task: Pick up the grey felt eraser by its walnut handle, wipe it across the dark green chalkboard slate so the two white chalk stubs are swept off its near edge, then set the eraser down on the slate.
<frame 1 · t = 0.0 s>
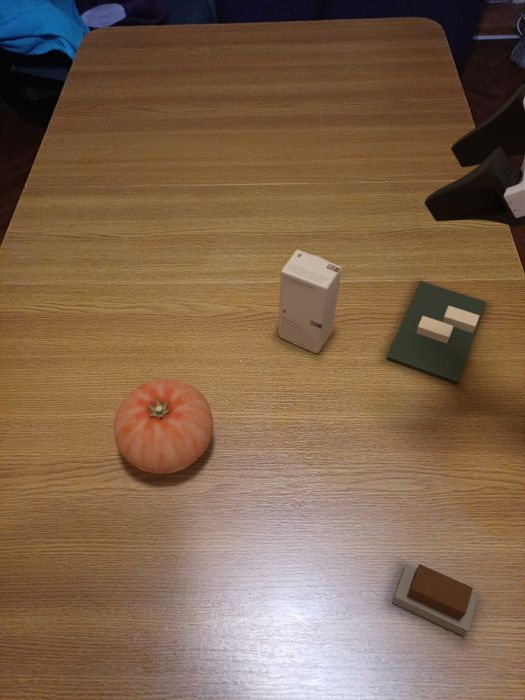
hand: (444, 181, 51), 29 cm above the table, tool tilted 50°, fingers open, 7 cm apart
eraser: (432, 601, 59), on the table
slate: (437, 331, 79), on the table
chalk a: (459, 322, 79), point 1 cm above the table, touching slate
cosmetic box: (306, 335, 79), on the table
chalk b: (433, 333, 78), point 1 cm above the table, touching slate
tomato: (169, 443, 70), on the table
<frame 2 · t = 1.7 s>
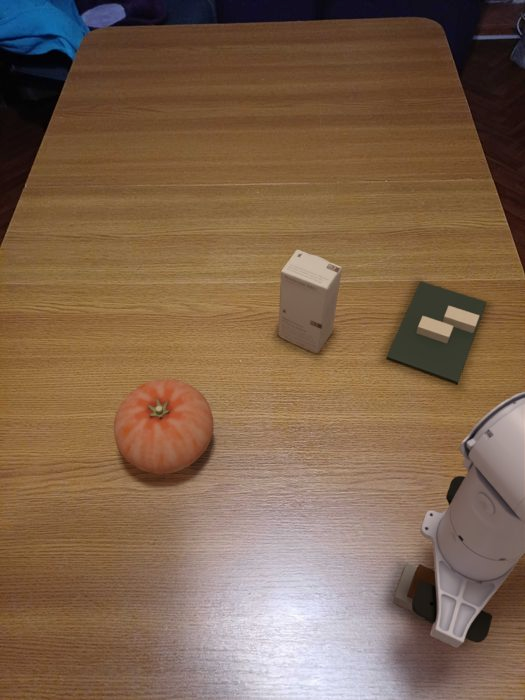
hand: (449, 578, 53), 7 cm above the table, tool pointing down, fingers open, 7 cm apart
nothing on the table moved.
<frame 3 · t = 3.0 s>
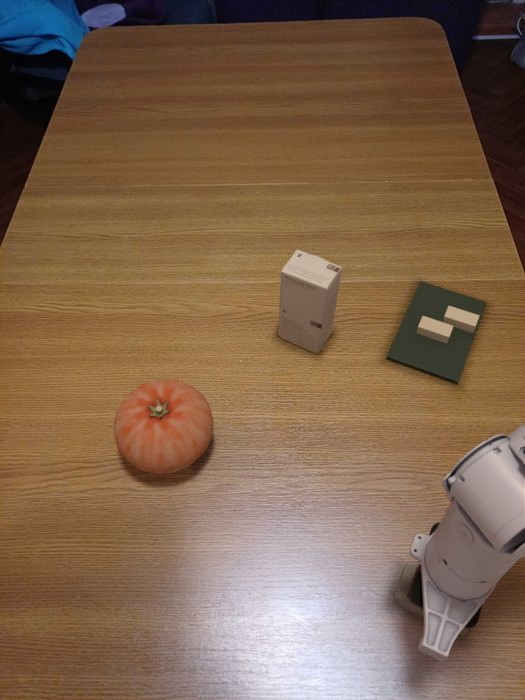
hand: (437, 594, 57), 2 cm above the table, tool pointing down, fingers closed on eraser, 2 cm apart
eraser: (432, 601, 59), on the table, touching gripper
everything else where it was.
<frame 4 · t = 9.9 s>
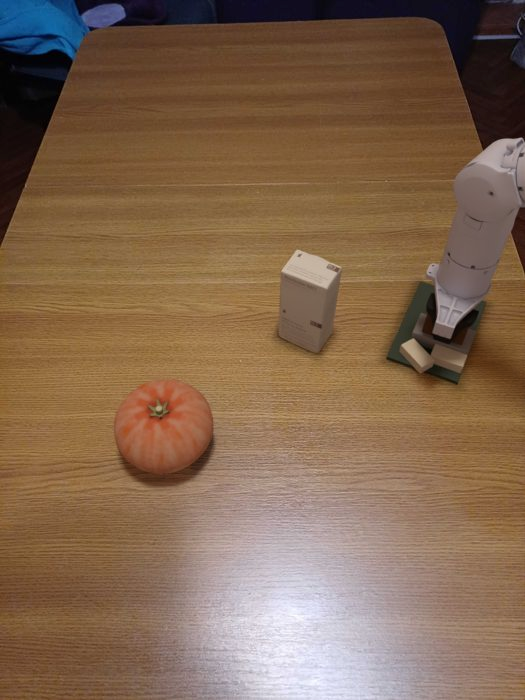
hand: (445, 330, 75), 3 cm above the table, tool pointing down, fingers closed on eraser, 2 cm apart
eraser: (440, 341, 77), point 1 cm above the table, touching gripper
chalk a: (446, 361, 75), point 1 cm above the table, touching chalk b, slate
chalk b: (415, 359, 76), point 1 cm above the table, touching chalk a, slate
everything else where it was.
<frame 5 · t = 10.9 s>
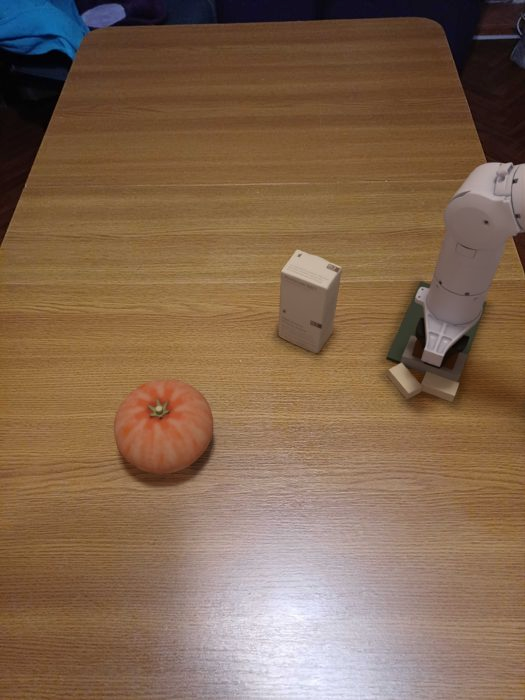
hand: (436, 354, 73), 3 cm above the table, tool pointing down, fingers closed on eraser, 2 cm apart
eraser: (431, 364, 75), point 1 cm above the table, touching gripper
chalk a: (438, 389, 74), on the table
chalk b: (403, 384, 74), on the table
everything else where it was.
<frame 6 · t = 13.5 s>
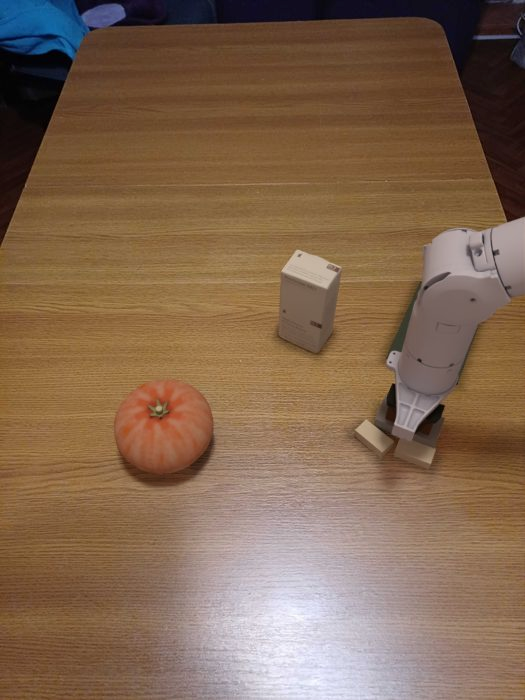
hand: (411, 417, 68), 3 cm above the table, tool pointing down, fingers closed on eraser, 2 cm apart
eraser: (407, 427, 70), point 1 cm above the table, touching chalk a, gripper
chalk a: (413, 455, 69), on the table, touching eraser
chalk b: (372, 441, 70), on the table
everything else where it was.
when the fingers open (3 cm above the table, at t = 16.6 s): eraser stays where it is, resting on slate.
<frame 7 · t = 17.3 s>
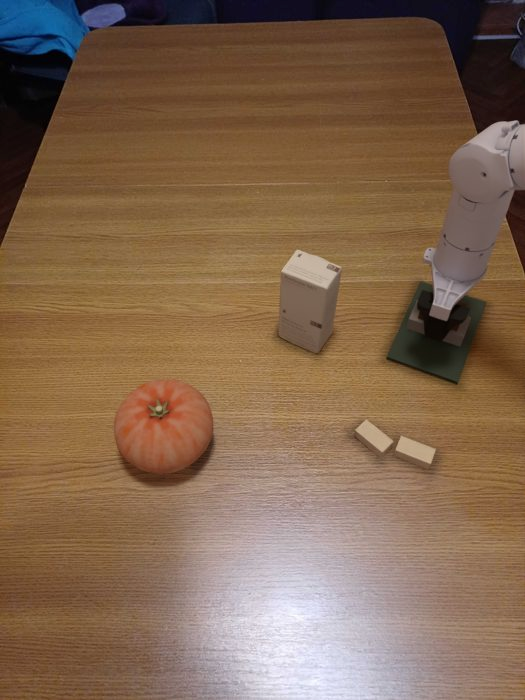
hand: (442, 315, 76), 3 cm above the table, tool pointing down, fingers open, 7 cm apart
eraser: (436, 327, 79), point 1 cm above the table, touching slate
chalk a: (413, 455, 69), on the table
everything else where it was.
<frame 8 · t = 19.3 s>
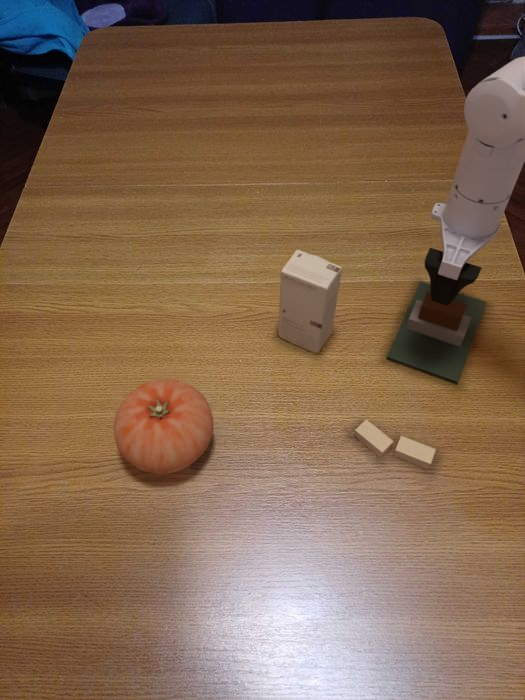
hand: (449, 278, 72), 9 cm above the table, tool pointing down, fingers open, 7 cm apart
nothing on the table moved.
at the end: chalk a inside the target area (2.9 cm from its centre), on the table; chalk b inside the target area (2.3 cm from its centre), on the table; eraser inside the target area on the slate (0.2 cm from its centre), point 0.6 cm above the slate's base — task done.
